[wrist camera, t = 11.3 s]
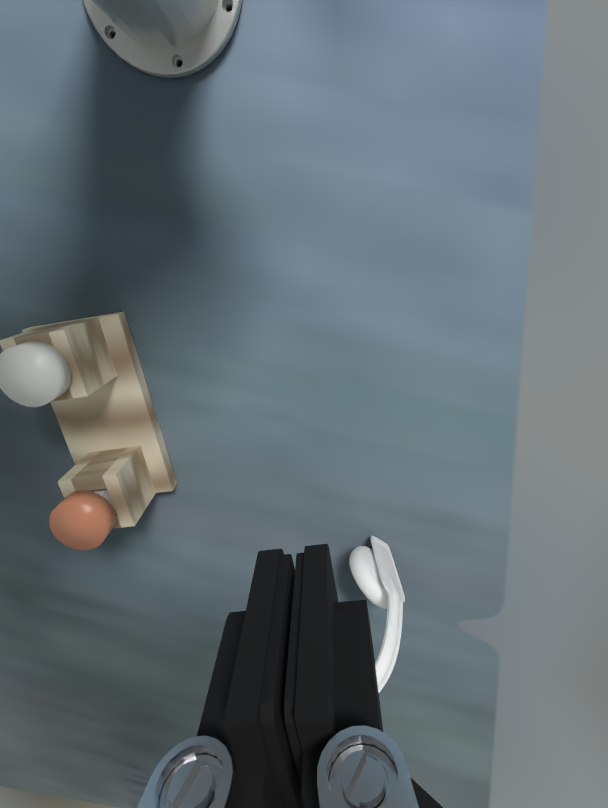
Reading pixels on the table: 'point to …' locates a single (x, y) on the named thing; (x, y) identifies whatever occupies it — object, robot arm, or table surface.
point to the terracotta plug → (83, 519)
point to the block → (106, 414)
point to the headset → (381, 598)
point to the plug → (33, 373)
